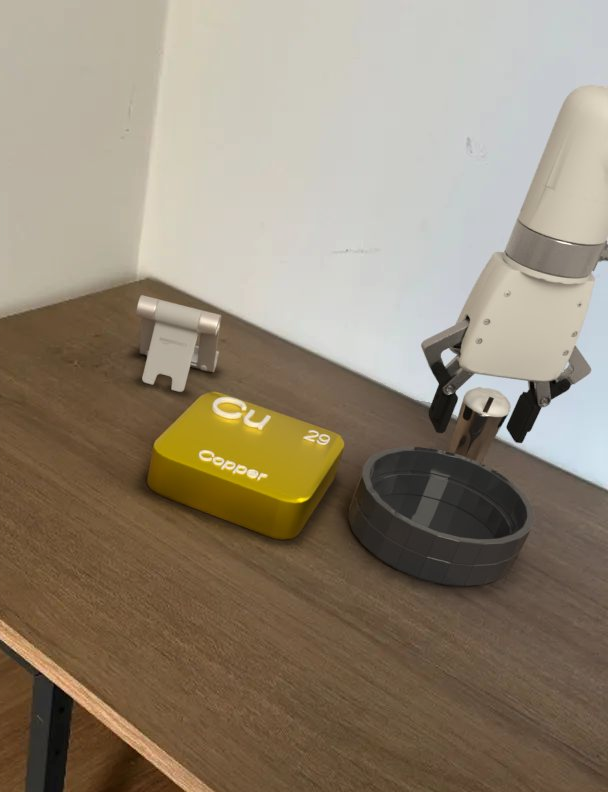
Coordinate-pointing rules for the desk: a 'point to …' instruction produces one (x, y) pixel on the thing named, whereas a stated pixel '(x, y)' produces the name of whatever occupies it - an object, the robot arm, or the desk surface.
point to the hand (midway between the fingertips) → (475, 430)
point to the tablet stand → (176, 340)
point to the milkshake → (478, 422)
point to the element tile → (245, 464)
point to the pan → (440, 516)
